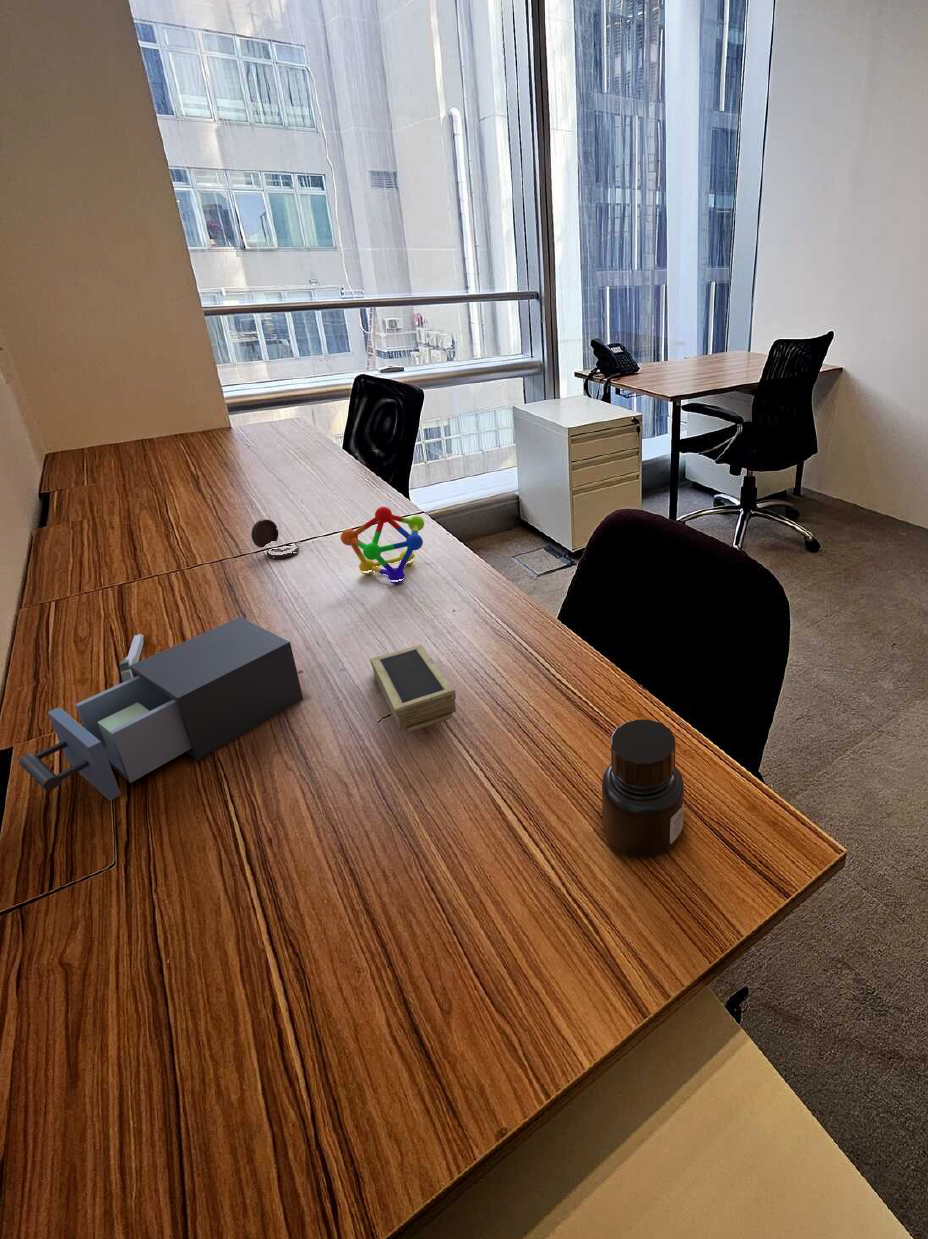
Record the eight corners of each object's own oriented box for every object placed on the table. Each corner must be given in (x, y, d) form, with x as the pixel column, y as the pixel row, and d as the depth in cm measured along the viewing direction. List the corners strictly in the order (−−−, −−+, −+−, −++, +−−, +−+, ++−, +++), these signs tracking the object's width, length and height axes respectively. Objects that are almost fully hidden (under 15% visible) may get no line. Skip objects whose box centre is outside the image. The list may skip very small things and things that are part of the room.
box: (402, 746, 83) (395, 710, 82) (366, 681, 102) (361, 651, 100) (465, 724, 87) (460, 689, 86) (420, 665, 106) (415, 636, 105)
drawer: (65, 827, 72) (41, 772, 69) (25, 785, 78) (1, 732, 75) (227, 733, 86) (213, 684, 83) (183, 704, 92) (168, 657, 89)
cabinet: (197, 760, 83) (177, 698, 79) (149, 725, 89) (129, 665, 85) (303, 698, 94) (290, 641, 90) (254, 671, 100) (240, 616, 97)
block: (124, 765, 79) (113, 735, 78) (108, 751, 82) (96, 722, 80) (164, 743, 83) (155, 714, 81) (147, 730, 85) (137, 702, 83)
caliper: (140, 703, 93) (128, 666, 91) (131, 706, 93) (118, 669, 90) (144, 637, 109) (133, 604, 107) (136, 639, 109) (125, 606, 106)
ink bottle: (696, 852, 70) (700, 764, 65) (616, 873, 67) (615, 783, 63) (664, 786, 78) (666, 704, 74) (593, 802, 76) (590, 719, 71)
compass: (284, 561, 136) (277, 529, 133) (254, 556, 138) (246, 524, 135) (312, 546, 143) (306, 515, 140) (283, 541, 145) (277, 511, 142)
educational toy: (378, 605, 121) (357, 532, 114) (350, 581, 130) (329, 513, 123) (452, 571, 130) (436, 503, 123) (421, 551, 139) (406, 486, 132)
